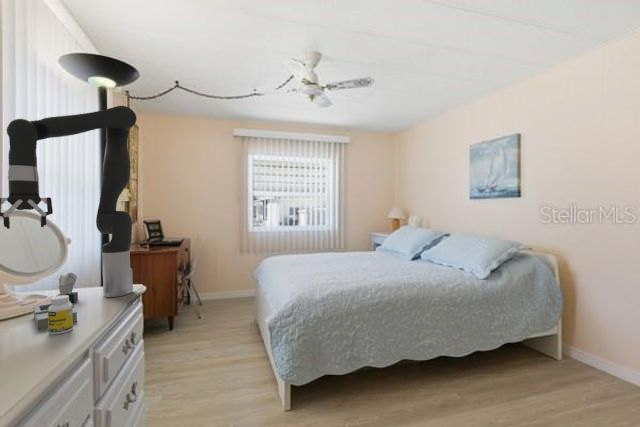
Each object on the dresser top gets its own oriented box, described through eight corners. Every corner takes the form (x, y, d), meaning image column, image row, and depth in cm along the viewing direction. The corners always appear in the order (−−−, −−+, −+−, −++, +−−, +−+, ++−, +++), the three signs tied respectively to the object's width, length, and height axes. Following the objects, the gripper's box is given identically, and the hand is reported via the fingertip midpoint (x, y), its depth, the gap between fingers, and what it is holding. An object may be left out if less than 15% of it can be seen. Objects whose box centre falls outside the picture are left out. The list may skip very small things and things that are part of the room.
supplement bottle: (44, 336, 87) (42, 300, 87) (54, 328, 92) (53, 295, 92) (67, 333, 89) (66, 298, 88) (76, 326, 94) (75, 293, 93)
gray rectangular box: (32, 312, 106) (32, 301, 106) (66, 306, 112) (66, 295, 112) (37, 330, 91) (37, 317, 91) (77, 321, 98) (76, 309, 97)
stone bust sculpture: (79, 298, 122) (78, 269, 121) (72, 304, 114) (71, 274, 114) (61, 300, 119) (60, 271, 119) (53, 306, 112) (52, 275, 112)
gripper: (50, 181, 116) (51, 226, 116) (-7, 179, 105) (-4, 228, 106) (52, 180, 110) (54, 227, 111) (-7, 178, 100) (-5, 229, 101)
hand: (25, 227), depth 108 cm, fingers open, 8 cm apart
